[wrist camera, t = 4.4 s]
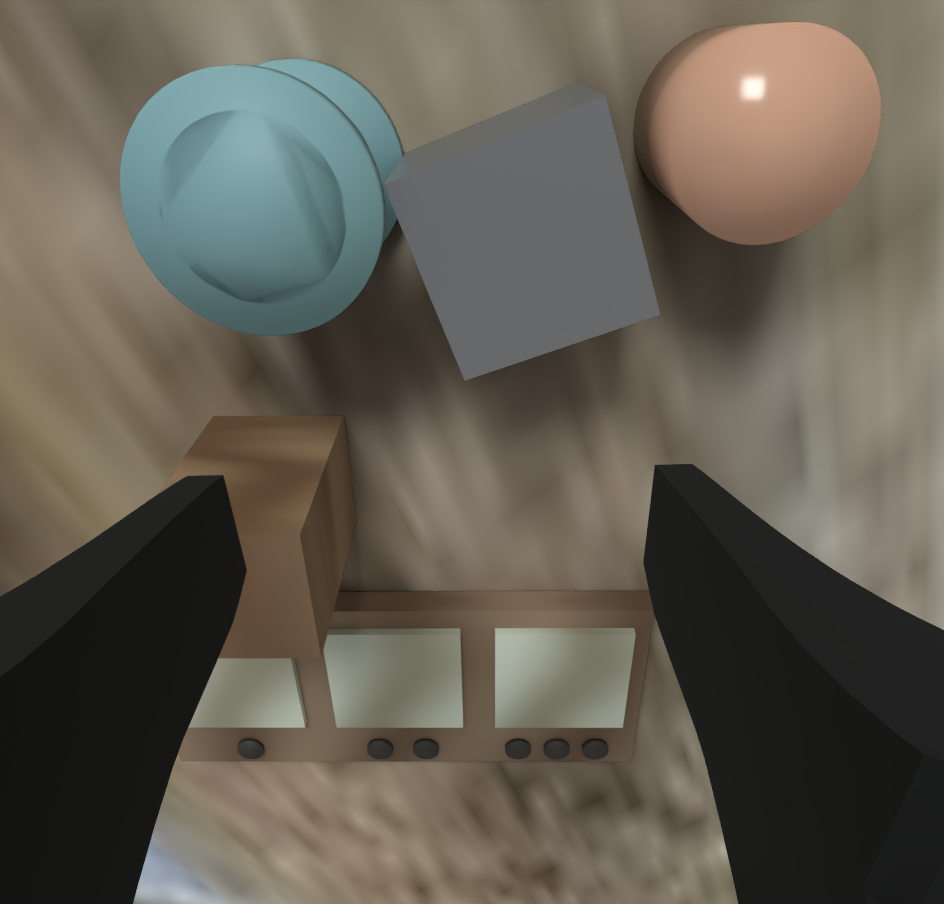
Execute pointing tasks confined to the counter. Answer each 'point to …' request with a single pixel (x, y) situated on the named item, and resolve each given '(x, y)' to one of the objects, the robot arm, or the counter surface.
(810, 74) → the peach round blob
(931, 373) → the counter surface
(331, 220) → the teal spool
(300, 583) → the walnut block
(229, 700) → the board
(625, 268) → the charcoal cube
